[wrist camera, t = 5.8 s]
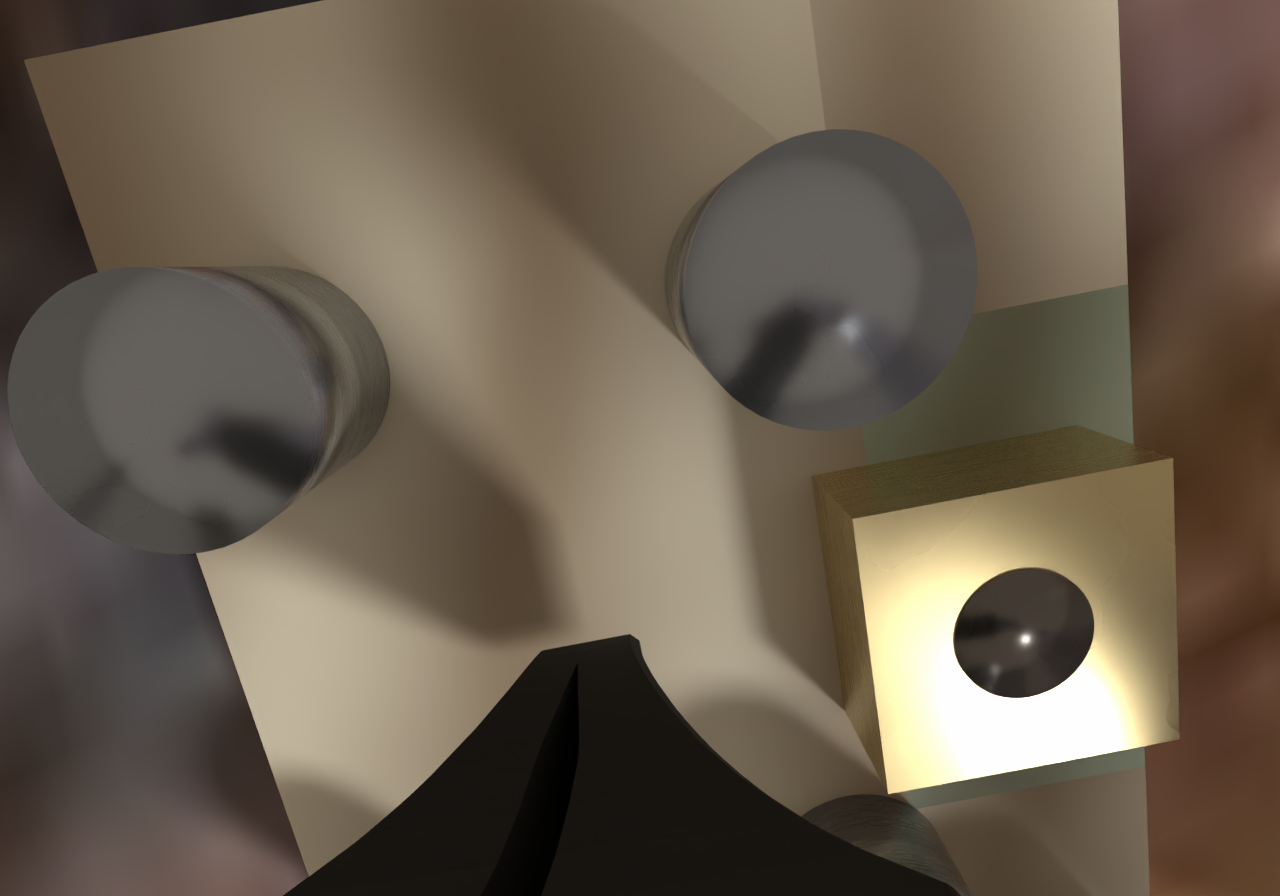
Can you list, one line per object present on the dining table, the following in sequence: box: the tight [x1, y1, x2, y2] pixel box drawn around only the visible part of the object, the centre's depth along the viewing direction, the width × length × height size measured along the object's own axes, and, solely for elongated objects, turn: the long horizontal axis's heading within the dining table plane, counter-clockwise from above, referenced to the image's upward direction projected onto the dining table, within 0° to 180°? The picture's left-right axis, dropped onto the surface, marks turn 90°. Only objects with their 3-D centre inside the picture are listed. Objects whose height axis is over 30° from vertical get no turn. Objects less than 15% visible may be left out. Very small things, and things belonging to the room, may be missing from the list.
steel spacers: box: [7, 129, 977, 896], centre depth 11 cm, size 13×16×3 cm
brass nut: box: [812, 425, 1180, 794], centre depth 11 cm, size 4×4×2 cm
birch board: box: [24, 0, 1150, 896], centre depth 12 cm, size 14×19×1 cm
